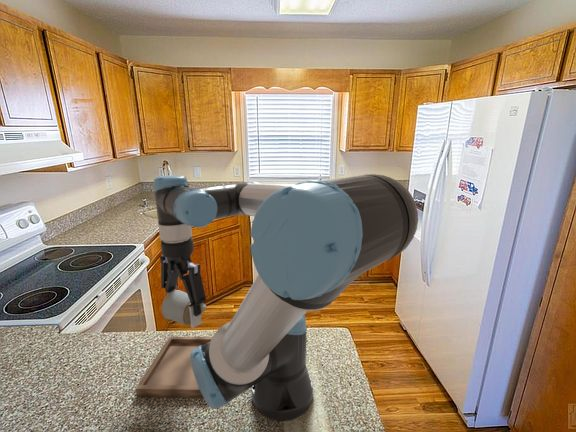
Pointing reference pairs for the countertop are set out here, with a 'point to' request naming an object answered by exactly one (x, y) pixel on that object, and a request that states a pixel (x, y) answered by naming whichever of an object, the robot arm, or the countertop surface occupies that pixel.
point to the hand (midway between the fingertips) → (185, 319)
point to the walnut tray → (172, 371)
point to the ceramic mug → (178, 307)
